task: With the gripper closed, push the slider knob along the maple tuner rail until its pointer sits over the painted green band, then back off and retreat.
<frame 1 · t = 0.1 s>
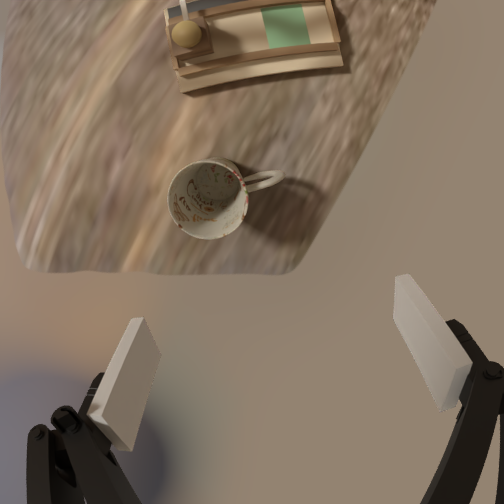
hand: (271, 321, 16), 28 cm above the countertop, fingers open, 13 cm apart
tuner board: (252, 33, 32), on the countertop
mug: (233, 175, 41), on the countertop
slider knob: (187, 25, 28), point 4 cm above the countertop, slide at 0.0 cm
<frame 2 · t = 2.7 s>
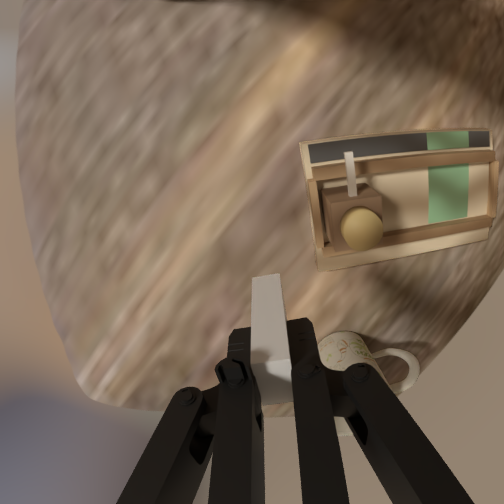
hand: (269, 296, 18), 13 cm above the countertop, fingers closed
tuner board: (408, 192, 28), on the countertop
mug: (355, 343, 36), on the countertop
slider knob: (352, 198, 24), point 4 cm above the countertop, slide at 0.0 cm
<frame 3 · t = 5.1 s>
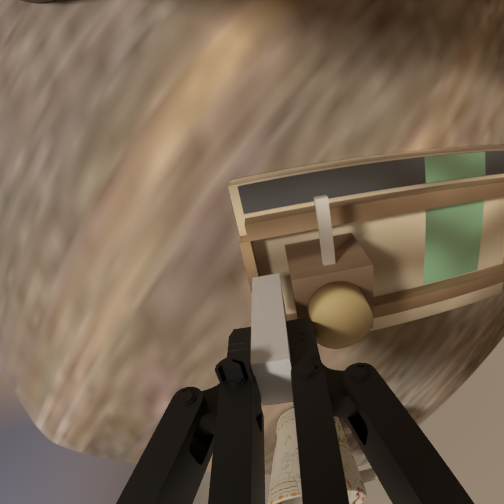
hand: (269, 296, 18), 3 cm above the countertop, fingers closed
tuner board: (396, 241, 20), on the countertop
mug: (327, 413, 28), on the countertop
slider knob: (328, 265, 16), point 4 cm above the countertop, slide at 1.4 cm, touching gripper
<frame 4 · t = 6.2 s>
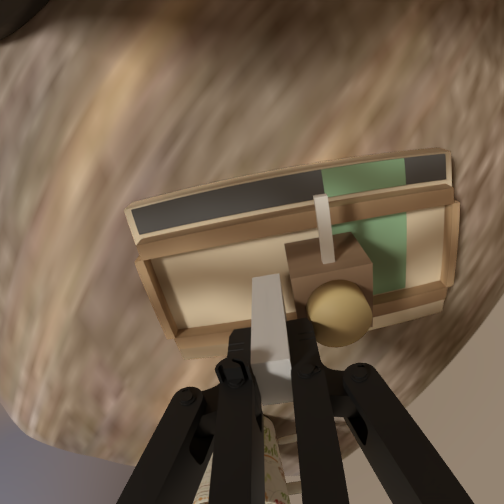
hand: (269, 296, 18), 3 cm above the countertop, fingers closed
tuner board: (305, 257, 21), on the countertop
mug: (264, 422, 29), on the countertop
slider knob: (327, 264, 16), point 4 cm above the countertop, slide at 7.8 cm, touching gripper
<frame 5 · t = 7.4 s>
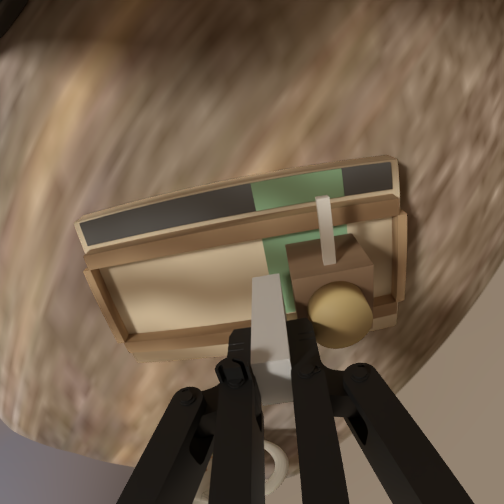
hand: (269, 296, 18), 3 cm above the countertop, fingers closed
tuner board: (245, 269, 21), on the countertop
mug: (224, 426, 29), on the countertop
slider knob: (328, 265, 16), point 4 cm above the countertop, slide at 11.7 cm, touching gripper
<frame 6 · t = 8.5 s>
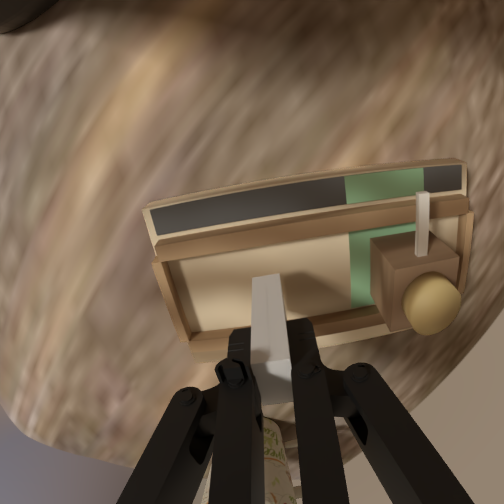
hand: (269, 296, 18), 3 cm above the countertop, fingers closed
tuner board: (322, 263, 21), on the countertop
mug: (270, 426, 29), on the countertop
slider knob: (418, 257, 16), point 4 cm above the countertop, slide at 11.8 cm
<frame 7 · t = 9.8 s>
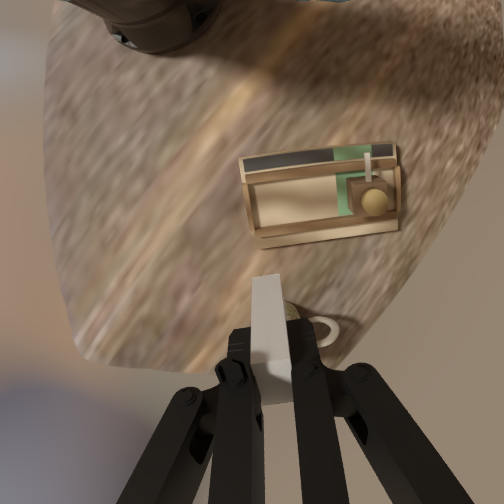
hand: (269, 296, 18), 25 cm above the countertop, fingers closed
tuner board: (323, 192, 40), on the countertop
mug: (291, 312, 48), on the countertop
slider knob: (368, 183, 35), point 4 cm above the countertop, slide at 11.8 cm
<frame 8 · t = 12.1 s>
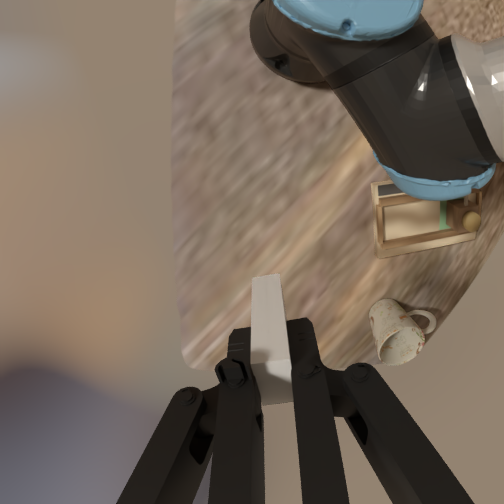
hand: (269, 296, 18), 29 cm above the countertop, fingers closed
tuner board: (428, 211, 46), on the countertop
mug: (393, 308, 54), on the countertop
slider knob: (465, 206, 41), point 4 cm above the countertop, slide at 11.8 cm
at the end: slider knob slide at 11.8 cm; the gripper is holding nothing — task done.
